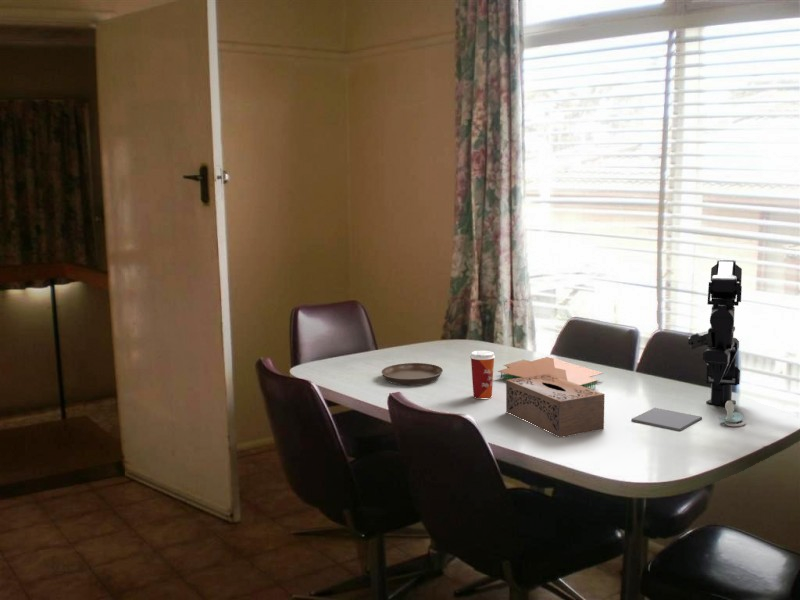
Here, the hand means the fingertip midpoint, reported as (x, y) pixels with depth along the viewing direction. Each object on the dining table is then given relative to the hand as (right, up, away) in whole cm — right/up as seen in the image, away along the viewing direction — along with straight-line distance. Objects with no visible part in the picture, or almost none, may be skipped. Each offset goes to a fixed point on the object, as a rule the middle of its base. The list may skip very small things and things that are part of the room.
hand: (720, 380), depth 229 cm
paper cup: (-61, -9, +33) cm, 70 cm away
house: (-36, -6, +51) cm, 63 cm away
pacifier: (+4, -12, +2) cm, 13 cm away
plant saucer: (-82, -5, +57) cm, 100 cm away
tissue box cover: (-44, -13, +8) cm, 46 cm away
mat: (-12, -12, +6) cm, 18 cm away
